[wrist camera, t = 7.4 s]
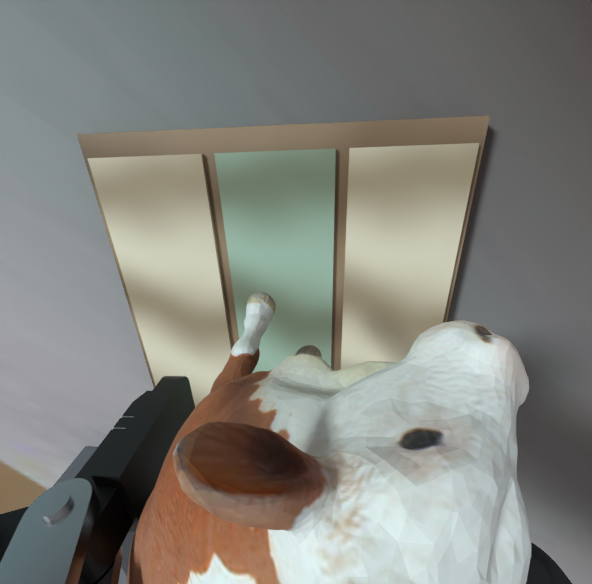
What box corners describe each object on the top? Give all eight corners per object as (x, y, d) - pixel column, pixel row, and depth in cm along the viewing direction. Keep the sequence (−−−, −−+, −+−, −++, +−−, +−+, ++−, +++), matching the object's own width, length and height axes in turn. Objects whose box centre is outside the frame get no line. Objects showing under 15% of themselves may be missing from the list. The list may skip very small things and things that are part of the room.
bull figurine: (421, 248, 9) (1057, 739, 1) (258, 489, 14) (198, 859, 7) (292, 183, 8) (86, 387, 1) (173, 459, 13) (-1, 828, 6)
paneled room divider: (89, 136, 14) (73, 133, 13) (479, 118, 12) (493, 114, 12) (169, 412, 21) (163, 424, 20) (420, 419, 20) (425, 431, 19)
